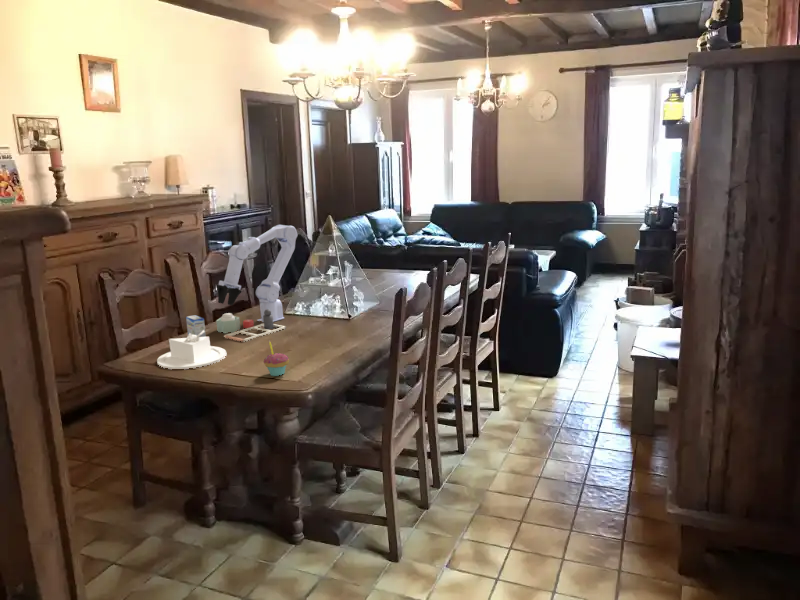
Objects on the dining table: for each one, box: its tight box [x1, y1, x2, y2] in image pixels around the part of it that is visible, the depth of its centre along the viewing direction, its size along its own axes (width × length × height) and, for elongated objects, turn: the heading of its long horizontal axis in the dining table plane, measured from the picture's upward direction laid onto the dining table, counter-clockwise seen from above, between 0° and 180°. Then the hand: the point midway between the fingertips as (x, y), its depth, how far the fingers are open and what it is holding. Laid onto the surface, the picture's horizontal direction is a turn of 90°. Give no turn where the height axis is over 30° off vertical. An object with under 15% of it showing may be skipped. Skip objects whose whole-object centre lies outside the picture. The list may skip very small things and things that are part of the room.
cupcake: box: [263, 340, 290, 377], centre depth 225 cm, size 9×8×12 cm
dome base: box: [215, 316, 241, 334], centre depth 283 cm, size 8×10×5 cm
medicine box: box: [185, 314, 207, 337], centre depth 274 cm, size 8×4×9 cm, turn 42°
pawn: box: [263, 309, 275, 330], centre depth 282 cm, size 4×4×9 cm
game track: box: [223, 322, 287, 343], centre depth 277 cm, size 23×13×1 cm, turn 141°
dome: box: [220, 312, 236, 321], centre depth 283 cm, size 6×6×4 cm
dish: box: [156, 330, 228, 370], centre depth 246 cm, size 25×25×11 cm
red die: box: [242, 319, 255, 329], centre depth 286 cm, size 3×3×3 cm
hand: (225, 304), depth 280 cm, fingers open, 7 cm apart
